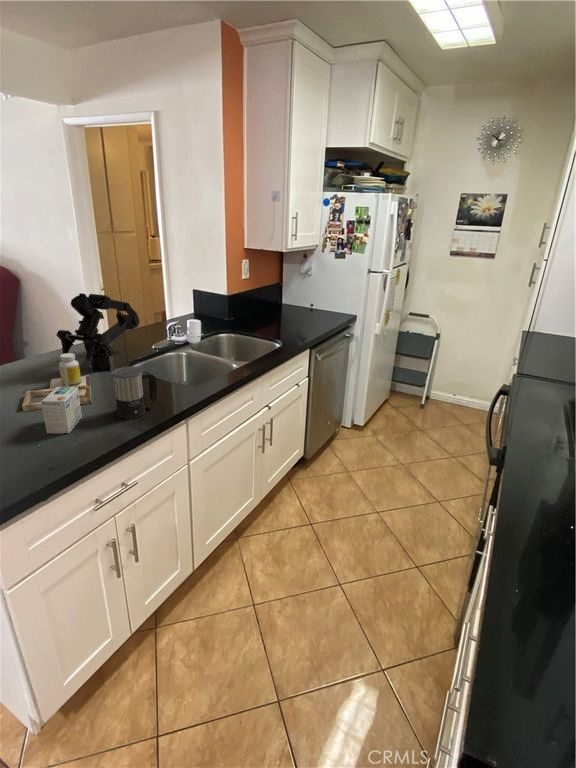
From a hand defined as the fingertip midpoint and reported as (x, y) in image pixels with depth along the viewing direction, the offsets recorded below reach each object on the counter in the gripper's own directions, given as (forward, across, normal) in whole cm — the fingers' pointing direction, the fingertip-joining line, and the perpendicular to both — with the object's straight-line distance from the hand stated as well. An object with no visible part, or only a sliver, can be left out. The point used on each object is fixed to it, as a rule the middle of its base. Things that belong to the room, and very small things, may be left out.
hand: (75, 358), depth 153 cm
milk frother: (+17, -29, +4) cm, 34 cm away
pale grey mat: (+9, +1, -4) cm, 10 cm away
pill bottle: (+10, 0, -3) cm, 10 cm away
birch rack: (+18, -4, +5) cm, 19 cm away
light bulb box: (+29, -17, +16) cm, 37 cm away
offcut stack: (+16, -8, +2) cm, 18 cm away
